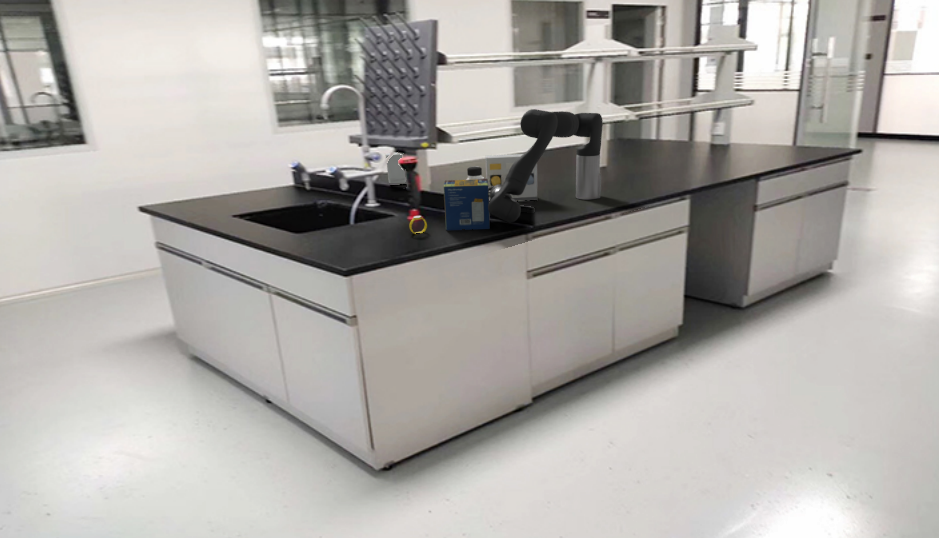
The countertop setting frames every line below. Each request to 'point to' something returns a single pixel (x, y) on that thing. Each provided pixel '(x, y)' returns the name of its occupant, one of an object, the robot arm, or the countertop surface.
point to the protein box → (466, 204)
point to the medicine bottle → (474, 173)
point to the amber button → (495, 180)
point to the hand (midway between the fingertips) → (497, 187)
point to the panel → (501, 168)
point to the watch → (417, 219)
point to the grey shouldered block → (395, 169)
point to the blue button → (530, 180)
